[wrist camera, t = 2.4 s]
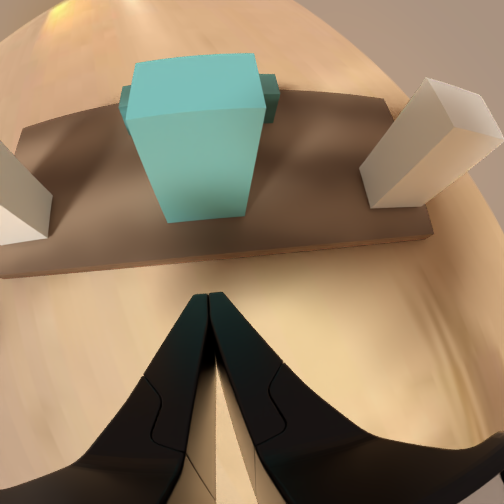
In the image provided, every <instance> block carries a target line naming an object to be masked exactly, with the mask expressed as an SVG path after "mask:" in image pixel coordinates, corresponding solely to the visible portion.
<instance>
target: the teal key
mask: <svg viewBox="0 0 504 504" xmlns="http://www.w3.org/2000/svg"><path fill="white" fill-rule="evenodd" d="M265 111H266V104H265V100H264V95H263V91H262V86H261V82H260V77H259V73H258V69H257V64H256V60H255V56H254V53H242V54H213V55H198V56H186V57H176V58H168V59H160V60H153V61H147V62H140V63H136V65H135V69H134V74H133V79H132V84H131V90H130V95H129V101H128V107H127V113H126V123H127V126H128V128H129V131H130V134H131V136H132V139H133V141H134V144H135V146H136V149H137V151H138V154H139V156H140V159H141V161H142V164H143V166H144V169H145V171H146V174H147V176H148V179H149V181H150V183H151V186H152V188H153V190H154V193H155V195H156V197H157V200H158V202H159V204H160V207H161V209H162V211H163V214H164V216H165V218H166V220H167V223H175V222H185V221H195V220H206V219H217V218H229V217H240V216H245V212H246V207H247V202H248V197H249V191H250V186H251V181H252V176H253V171H254V166H255V161H256V156H257V151H258V146H259V141H260V136H261V131H262V126H263V121H264V116H265Z"/></svg>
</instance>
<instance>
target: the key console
mask: <svg viewBox="0 0 504 504" xmlns="http://www.w3.org/2000/svg"><path fill="white" fill-rule="evenodd" d="M259 77H260V82H261V86H262V91H263V95H264V100H265V104H266V111H265V116H264V121H263V126H262V131H261V136H260V141H259V146H258V151H257V156H256V161H255V166H254V171H253V176H252V181H251V186H250V191H249V197H248V202H247V207H246V212H245V216H240V217H229V218H217V219H206V220H195V221H185V222H175V223H167V220H166V218H165V216H164V214H163V211H162V209H161V207H160V204H159V202H158V200H157V197H156V195H155V193H154V190H153V188H152V186H151V183H150V181H149V179H148V176H147V174H146V171H145V169H144V166H143V164H142V161H141V159H140V156H139V154H138V151H137V149H136V146H135V144H134V141H133V139H132V136H131V134H130V131H129V128H128V126H127V123H126V113H127V107H128V101H129V95H130V90H131V85H129V86H123V88H122V92H121V97H120V103H118V104H113V105H108V106H103V107H98V108H94V109H89V110H85V111H81V112H77V113H73V114H69V115H65V116H62V117H58V118H55V119H51V120H48V121H44V122H41V123H38V124H35V125H32V126H29V127H26V128H23V129H22V132H21V136H20V139H19V142H18V145H17V148H16V152H15V155H14V156H15V157H16V158H17V159H18V160H19V161H20V162H21V164H22V165H23V166H24V167H25V168H26V169H27V170H28V171H29V172H30V173H31V174H32V175H33V176H34V177H35V178H36V179H37V180H38V181H39V182H40V183H41V184H42V185H43V186H44V187H45V188H46V189H47V190H48V191H49V192H50V193H51V194H52V195H53V197H52V204H51V211H50V220H49V229H48V238H45V239H39V240H32V241H25V242H19V243H13V244H6V245H0V278H2V279H10V278H21V277H33V276H44V275H56V274H67V273H78V272H89V271H100V270H111V269H122V268H133V267H144V266H155V265H165V264H176V263H187V262H197V261H208V260H218V259H229V258H239V257H250V256H260V255H270V254H281V253H291V252H301V251H311V250H322V249H332V248H342V247H352V246H362V245H372V244H382V243H392V242H401V241H411V240H421V239H426V238H428V237H430V236H431V235H433V234H434V232H433V228H432V225H431V221H430V218H429V214H428V211H427V208H426V204H424V205H423V206H421V207H395V208H370V204H369V201H368V197H367V194H366V190H365V187H364V183H363V180H362V176H361V173H360V170H359V167H360V166H361V165H362V163H363V162H364V161H365V160H366V158H367V157H368V156H369V154H370V153H371V152H372V150H373V149H374V148H375V146H376V145H377V144H378V142H379V141H380V140H381V138H382V137H383V136H384V134H385V133H386V132H387V130H388V129H389V128H390V126H391V125H392V124H393V122H394V120H393V118H392V115H391V113H390V111H389V109H388V107H387V105H386V103H385V101H384V99H381V98H374V97H367V96H359V95H350V94H340V93H329V92H315V91H295V90H279V87H278V84H277V80H276V77H275V74H259Z"/></svg>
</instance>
